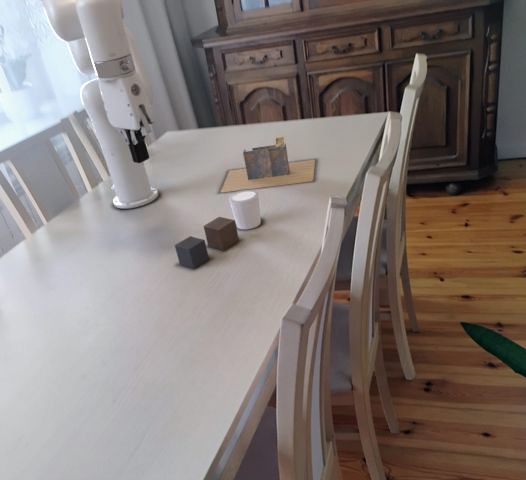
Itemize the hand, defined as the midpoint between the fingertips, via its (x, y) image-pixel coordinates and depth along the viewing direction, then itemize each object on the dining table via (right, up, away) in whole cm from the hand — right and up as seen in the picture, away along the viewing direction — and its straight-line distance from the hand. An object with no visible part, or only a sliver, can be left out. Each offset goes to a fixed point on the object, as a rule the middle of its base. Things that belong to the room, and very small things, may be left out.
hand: (141, 160), depth 121 cm
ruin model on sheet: (+27, +8, +36) cm, 46 cm away
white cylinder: (+23, -11, +12) cm, 28 cm away
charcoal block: (+11, -21, +1) cm, 24 cm away
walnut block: (+17, -17, +6) cm, 24 cm away
